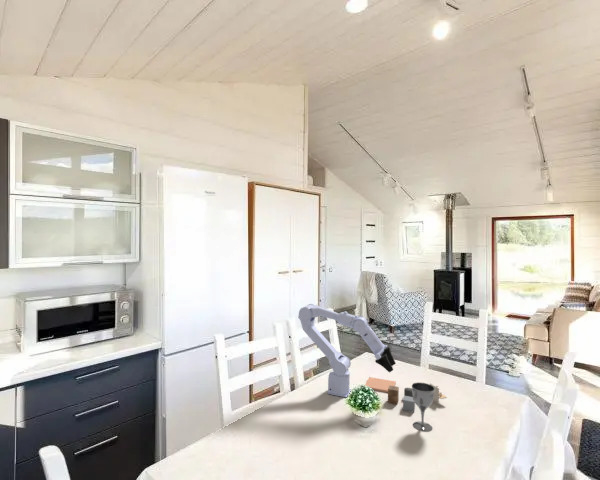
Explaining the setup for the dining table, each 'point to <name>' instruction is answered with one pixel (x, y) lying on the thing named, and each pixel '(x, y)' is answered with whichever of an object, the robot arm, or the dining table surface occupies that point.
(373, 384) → the terracotta tile
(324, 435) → the dining table surface
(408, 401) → the grey cube
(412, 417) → the dining table surface
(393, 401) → the walnut block
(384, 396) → the dining table surface
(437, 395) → the architectural model
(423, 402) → the wine glass
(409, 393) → the rubber cylinder
